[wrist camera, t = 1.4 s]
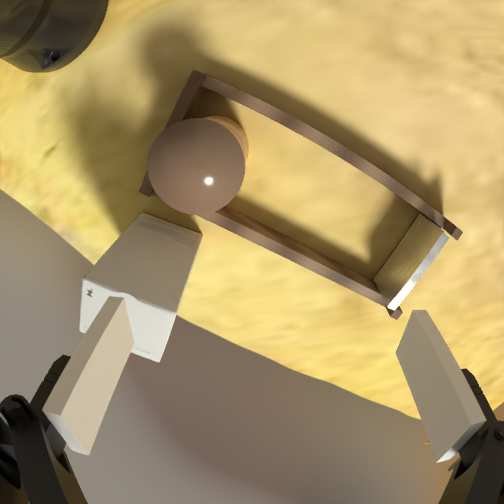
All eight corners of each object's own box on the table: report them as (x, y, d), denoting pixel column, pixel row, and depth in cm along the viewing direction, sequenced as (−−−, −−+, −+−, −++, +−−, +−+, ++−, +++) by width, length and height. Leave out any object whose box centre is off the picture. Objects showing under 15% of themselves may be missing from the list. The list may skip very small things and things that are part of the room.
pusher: (372, 278, 39) (387, 306, 33) (419, 212, 35) (442, 232, 29) (397, 292, 40) (413, 319, 34) (442, 230, 36) (466, 251, 30)
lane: (151, 182, 35) (135, 194, 30) (201, 73, 29) (191, 68, 25) (385, 297, 40) (396, 319, 36) (443, 216, 35) (462, 232, 30)
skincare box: (130, 253, 39) (74, 331, 25) (142, 207, 36) (78, 273, 22) (191, 277, 40) (158, 367, 26) (207, 232, 37) (176, 314, 23)
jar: (171, 163, 34) (134, 190, 24) (199, 102, 31) (170, 103, 21) (231, 191, 35) (218, 230, 25) (262, 132, 32) (262, 146, 22)
